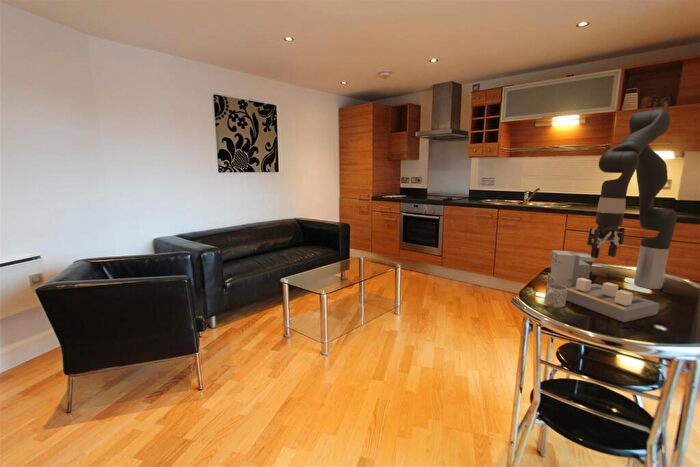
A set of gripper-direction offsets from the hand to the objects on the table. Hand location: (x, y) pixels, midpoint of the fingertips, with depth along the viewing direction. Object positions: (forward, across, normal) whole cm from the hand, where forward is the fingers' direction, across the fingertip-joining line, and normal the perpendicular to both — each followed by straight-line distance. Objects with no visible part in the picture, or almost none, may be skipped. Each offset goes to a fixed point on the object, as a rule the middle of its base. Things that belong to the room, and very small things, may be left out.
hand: (603, 257), depth 122 cm
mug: (+20, +12, -7) cm, 24 cm away
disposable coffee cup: (+19, -24, -25) cm, 39 cm away
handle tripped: (+15, -7, 0) cm, 16 cm away
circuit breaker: (+19, -11, -19) cm, 29 cm away
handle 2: (+15, -3, +7) cm, 16 cm away
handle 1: (+15, -2, -7) cm, 16 cm away
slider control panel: (+19, -7, 0) cm, 20 cm away
